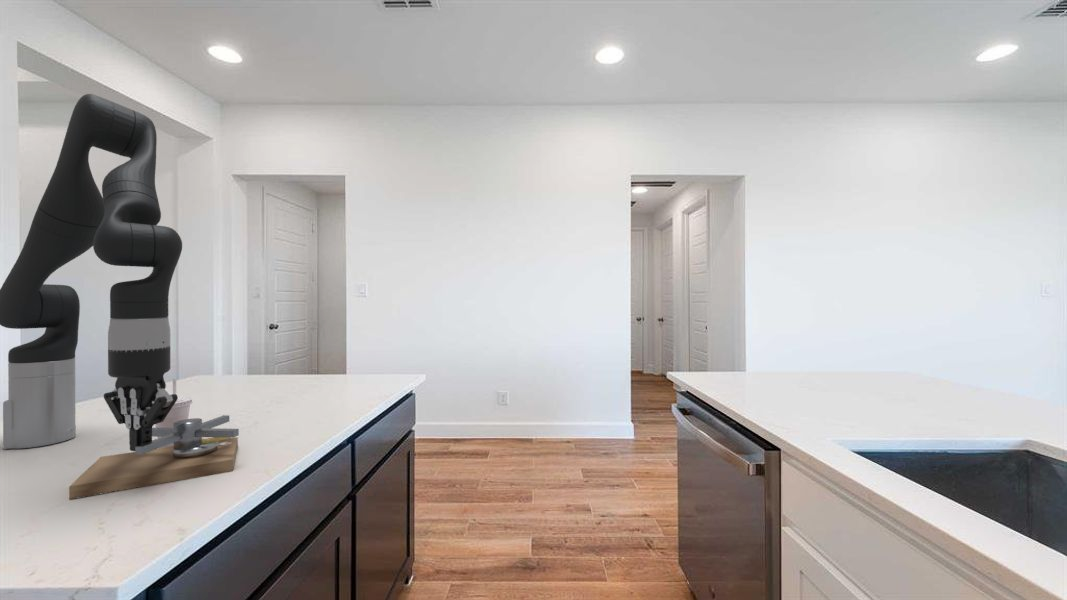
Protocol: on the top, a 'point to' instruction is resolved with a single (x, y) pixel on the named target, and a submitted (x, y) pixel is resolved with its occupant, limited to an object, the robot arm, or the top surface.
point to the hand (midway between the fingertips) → (140, 449)
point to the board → (151, 469)
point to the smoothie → (176, 412)
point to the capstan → (189, 437)
